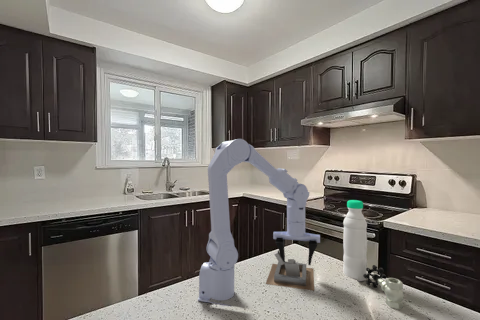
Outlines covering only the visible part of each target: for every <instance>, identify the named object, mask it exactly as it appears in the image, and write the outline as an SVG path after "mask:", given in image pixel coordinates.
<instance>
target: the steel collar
mask: <svg viewBox="0 0 480 320" xmlns="http://www.w3.org/2000/svg"><path fill="white" fill-rule="evenodd" d="M298 264H299V271H302V277H296V276H288V275H281V274H280V273H281V269H285V264H283V265H280V263H279V261H278V260H277V268H276V271H275V274H274V282H278V283H285V284H292V285H299V286H306V268H307V263H303V262H302V263H300V262H298Z"/></svg>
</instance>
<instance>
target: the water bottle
mask: <svg viewBox="0 0 480 320" xmlns="http://www.w3.org/2000/svg"><path fill="white" fill-rule="evenodd" d="M346 207H347V209H348V212H347V213H346V215H345V217H344V219H343V222H342V224H343V236H342V237H343V239H342V240H343V241H342V242H343V243H342V245H343V247H342V248H343V257H342V259H343V260H342V263H343V266H342V267H343V269H342V272H343V275H344V276H345V277H347V278H350V279H355V280H356V281H357V282H364V281H367V279H365V278H364V277H363V275H364V274H367V273H368V272H367V271H366V268H367V264H368V259H367V253H368V234H367V232H368V231H367V227H368V223H367V220H366V219H365V216H364V214H363V212H362V211H363V209H364V202H363V201H362V200H357V199H349V200H348V201H347V202H346Z"/></svg>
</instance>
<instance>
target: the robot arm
mask: <svg viewBox="0 0 480 320" xmlns="http://www.w3.org/2000/svg"><path fill="white" fill-rule="evenodd" d="M241 163H247V164H250V165H252V166H253V167H254V168H256V169H257V170H258V171H260V172H262V174H264V175H266V176H267V177H268V181H269V183H270V184H271V185H272V186H273V187H275V188H276V189H277V190H278V191H280V192H281V193H282V195H283V197H284V198H285V199H286V225H287V226H286V231H273V234H272V236H273V237H272V238H273V240H275V245H276V247H277V249H278V251H279V252H280V254H281V258H282V260H283V262H284V260H286V254H285V240H290V241H300V242H301V241H302V242H308V260H307V263H308V266H311V264H312V259H313V256H314V253H315V251H316V249H317V247H318V243H319V244H321V234H315V233H309V232H306V206H307V200H308V199H309V196H310V191H309V189H308V187H307V186H306V185H305V184H303V183H299V182H298V179H297V178H295V177H293V176H291V175H290V174H289V173H288V169H286V168H281V167H278V168H276V167H275V166H273V165H272V164H271V163H270V162H269V161H268V160H267V159H266V158H265V157H264V156H263V155H262V154H260V153H259V152H258V151H257V150H256V148H255V146H253V145H251V144H250V143H248V142H247V141H246V140H245V139H243V138H237V139H233V140H225V141H223V142H221V143H220V144H219V145H218V146H217V147H215V150H214V154H213V156H212V158H211V160H210V161H209V164H208V166H207V182H208V193H209V194H208V196H209V197H208V198H209V210H210V211H209V212H210V232H209V233H208V241H207V244H206V252H207V254H208V255H209V257H210V258H209V261H208V262H207V261H206V262H203V264H201V267H200V270H199V275H198V297H197V301H199V302H204V303H209V304H210V303H211V304H216V305H222V306H227V307H231V306H232V305H231V304H225V303H221V302H215V301H227V300H229V299H231V298H233V297H234V295H235V265H236V264H237V262H238V259H239V253H238V249H237V248H236V247H235V239H234V237H233V233H232V232H231V220H230V206H229V190H228V189H229V187H228V174H229V173H230V171H231V170H233V168H234V167H236V166H238V165H239V164H241ZM211 299H212V300H215V301H210V300H211Z"/></svg>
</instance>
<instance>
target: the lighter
mask: <svg viewBox="0 0 480 320" xmlns="http://www.w3.org/2000/svg"><path fill="white" fill-rule="evenodd" d="M273 255H274V257H275V258H276V259H277V262H278V261H279V263H280V265H283V264H285V270H286V275H288V276H296V277H300V271H299V264H298V263H299V261H296V260H295V259H294V258H290V259H289V258H288V259H287V261H285V260H286V259H285V260H284V262H283V260H282V258H281V254H280V252H279V250H276V251H275V252H274V253H273Z"/></svg>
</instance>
